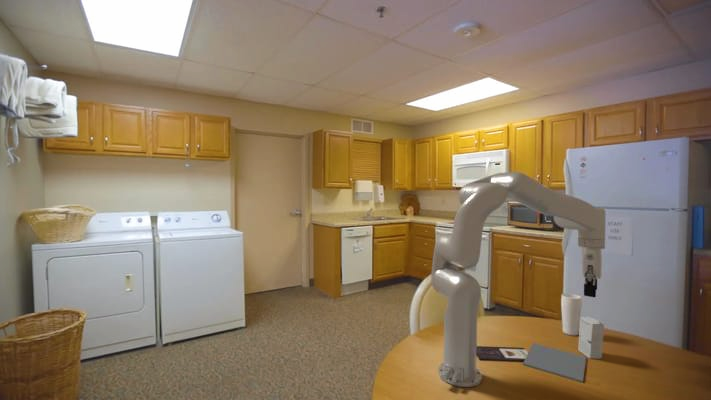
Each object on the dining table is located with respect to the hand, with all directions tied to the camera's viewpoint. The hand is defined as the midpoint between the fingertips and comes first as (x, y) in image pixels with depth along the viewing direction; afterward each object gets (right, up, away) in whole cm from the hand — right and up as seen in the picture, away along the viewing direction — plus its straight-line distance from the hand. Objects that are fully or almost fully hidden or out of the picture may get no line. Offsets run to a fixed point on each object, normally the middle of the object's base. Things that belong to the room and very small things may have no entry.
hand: (590, 292), depth 113 cm
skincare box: (0, -22, +1) cm, 22 cm away
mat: (-15, -22, -4) cm, 27 cm away
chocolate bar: (-30, -22, 0) cm, 38 cm away
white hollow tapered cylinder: (+5, -21, +18) cm, 28 cm away
